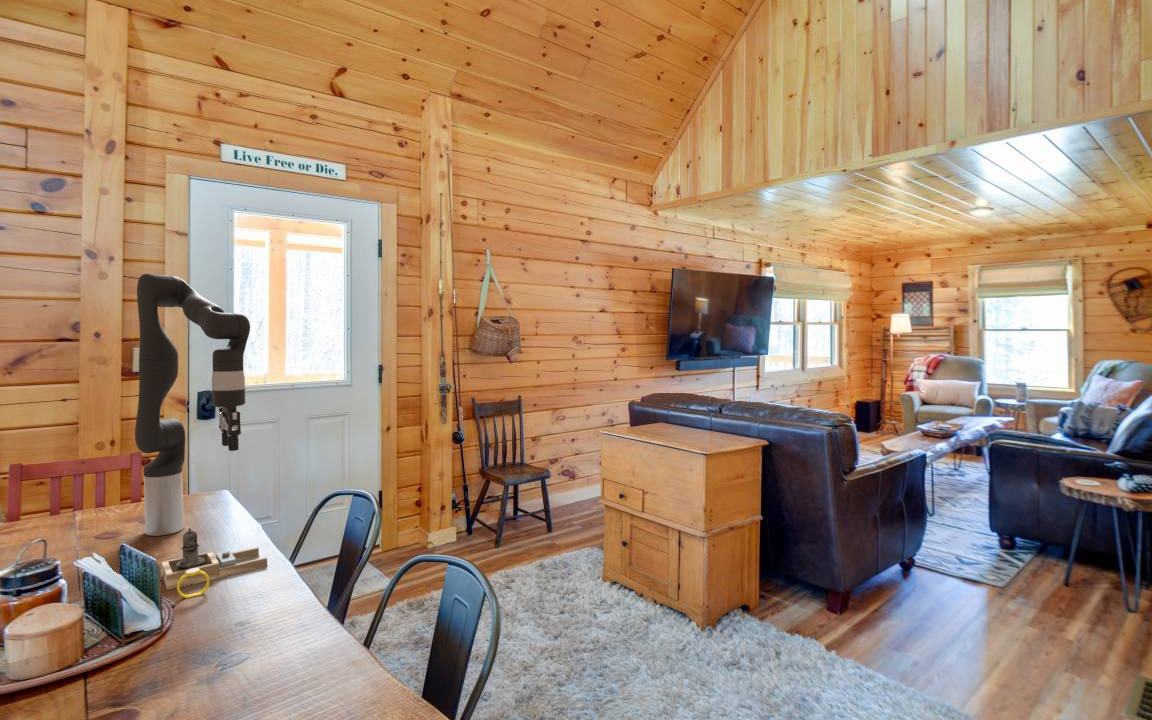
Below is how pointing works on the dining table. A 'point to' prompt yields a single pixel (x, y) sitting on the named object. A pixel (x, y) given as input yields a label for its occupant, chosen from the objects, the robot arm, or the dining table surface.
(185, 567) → the dark stupa figurine
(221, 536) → the dining table surface
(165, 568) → the holder
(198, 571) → the watch
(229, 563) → the cover
